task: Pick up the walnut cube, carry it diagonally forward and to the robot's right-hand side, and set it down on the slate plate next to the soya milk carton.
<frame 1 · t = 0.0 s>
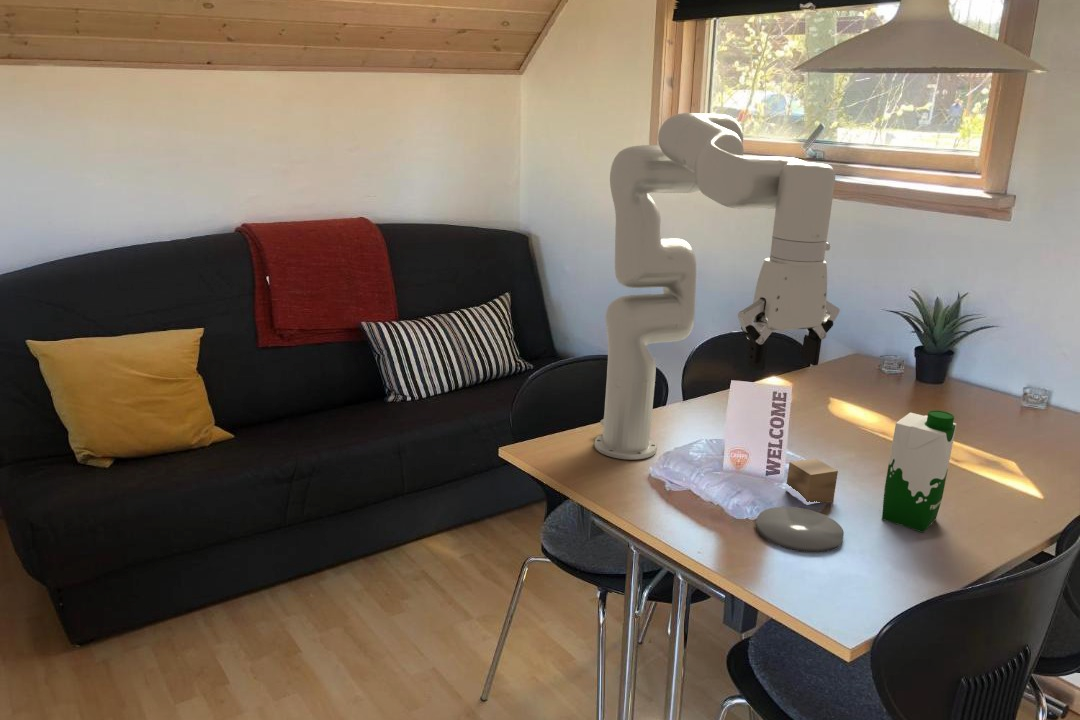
hand: (782, 365, 133), 31 cm above the table, tool pointing down, fingers open, 9 cm apart
slate plate: (798, 532, 149), on the table
soya milk: (908, 520, 156), on the table
walnut cube: (809, 496, 163), on the table
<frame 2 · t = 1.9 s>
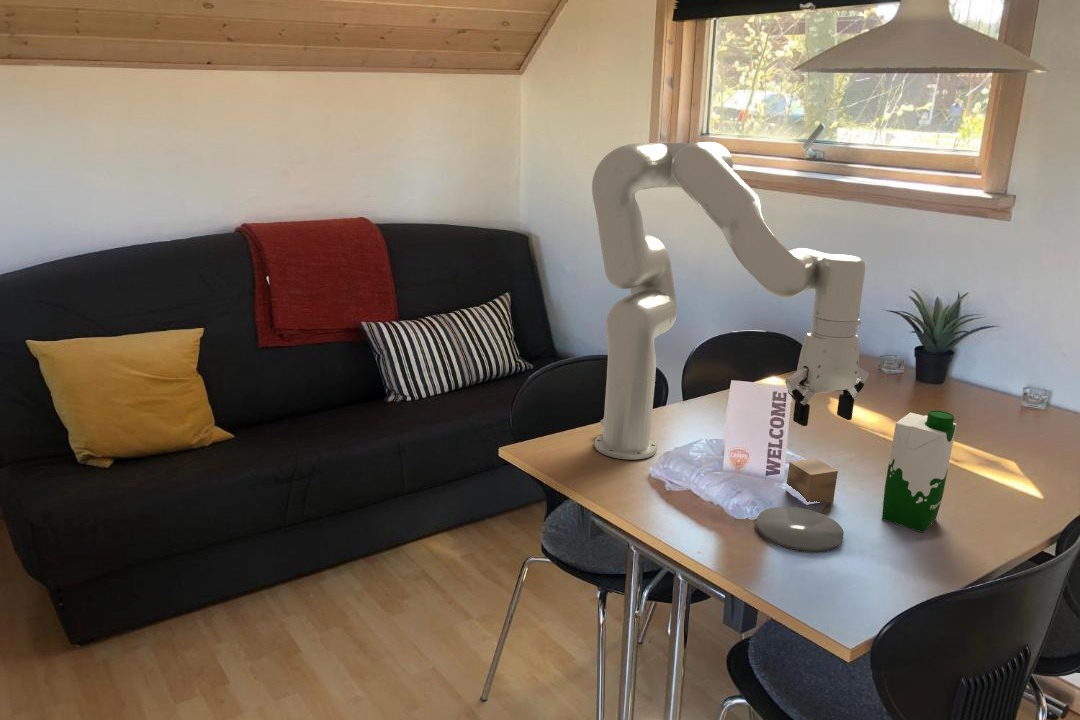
hand: (822, 420, 159), 15 cm above the table, tool pointing down, fingers open, 9 cm apart
nothing on the table moved.
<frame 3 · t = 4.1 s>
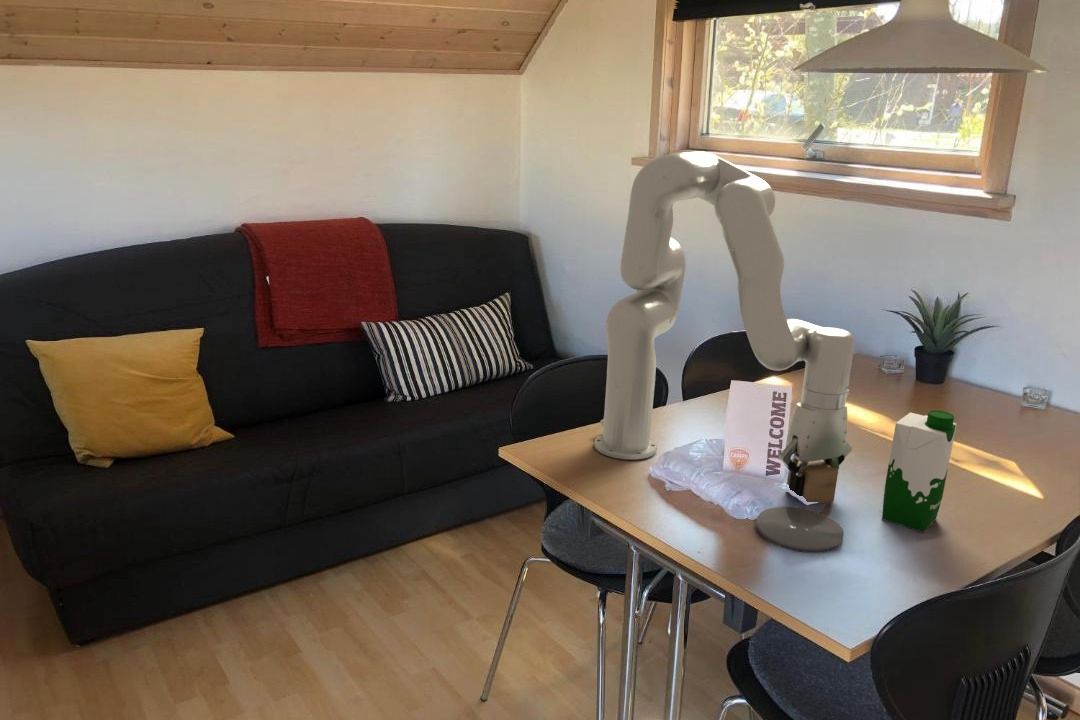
hand: (810, 490, 163), 1 cm above the table, tool pointing down, fingers closed on walnut cube, 6 cm apart
walnut cube: (809, 496, 163), on the table, touching gripper
everything else where it was.
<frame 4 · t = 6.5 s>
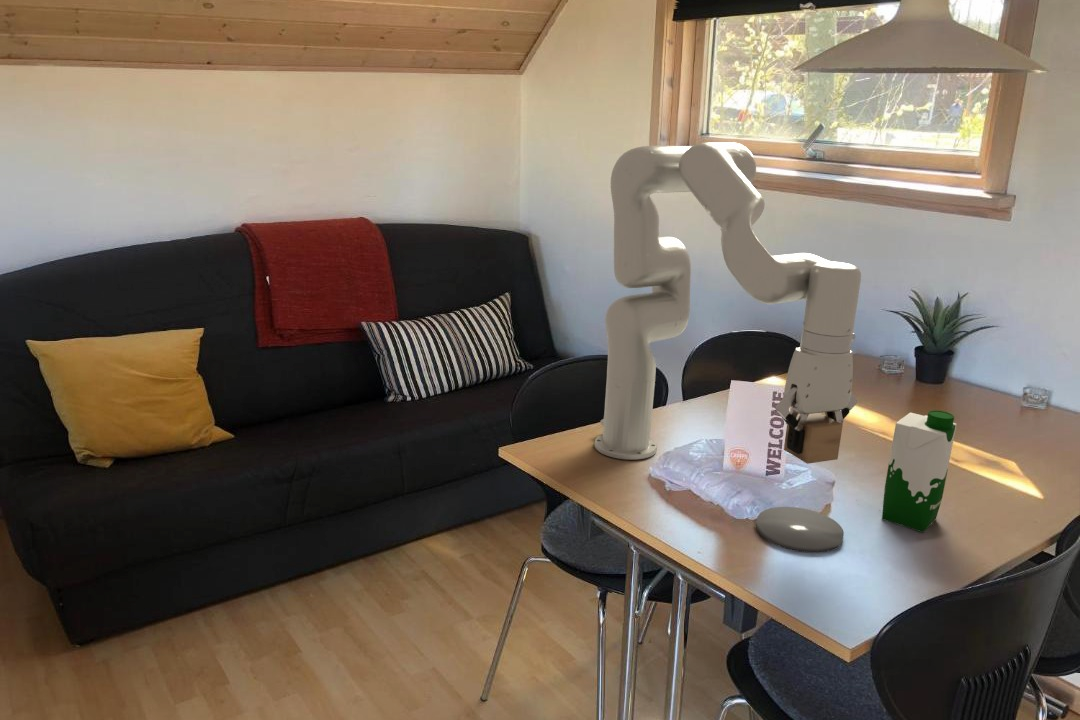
hand: (811, 447, 145), 15 cm above the table, tool pointing down, fingers closed on walnut cube, 6 cm apart
walnut cube: (810, 454, 145), point 14 cm above the table, touching gripper
everything else where it was.
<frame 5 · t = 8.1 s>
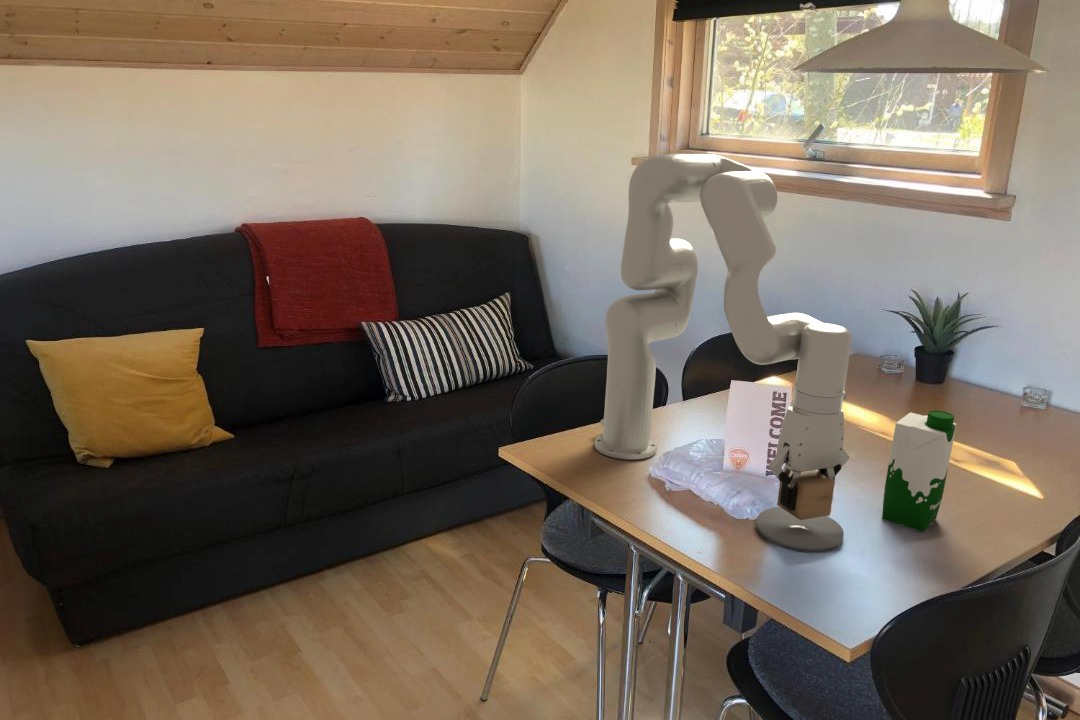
hand: (803, 503, 148), 5 cm above the table, tool pointing down, fingers closed on walnut cube, 6 cm apart
walnut cube: (803, 509, 148), point 4 cm above the table, touching gripper
everything else where it was.
when the fingers open (4 cm above the table, at t = 9.4 s): walnut cube drops 1 cm, resting on slate plate.
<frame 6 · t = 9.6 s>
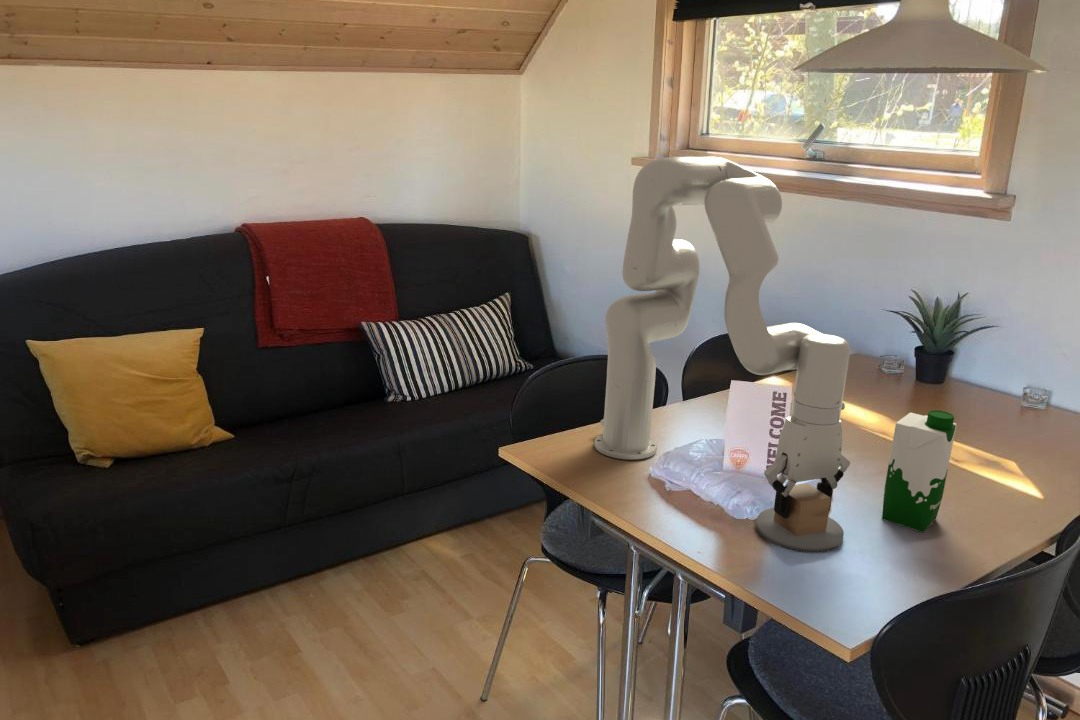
hand: (801, 510, 148), 4 cm above the table, tool pointing down, fingers open, 7 cm apart
walnut cube: (799, 525, 149), point 1 cm above the table, touching slate plate
everything else where it was.
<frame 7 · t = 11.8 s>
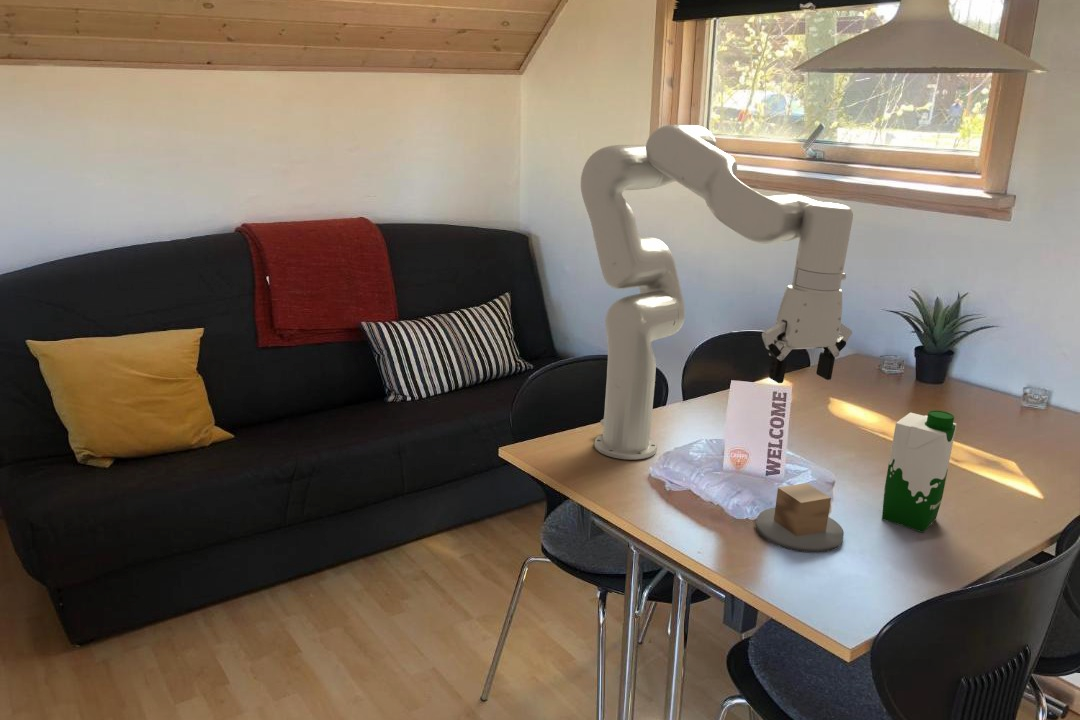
hand: (799, 378, 151), 24 cm above the table, tool pointing down, fingers open, 9 cm apart
nothing on the table moved.
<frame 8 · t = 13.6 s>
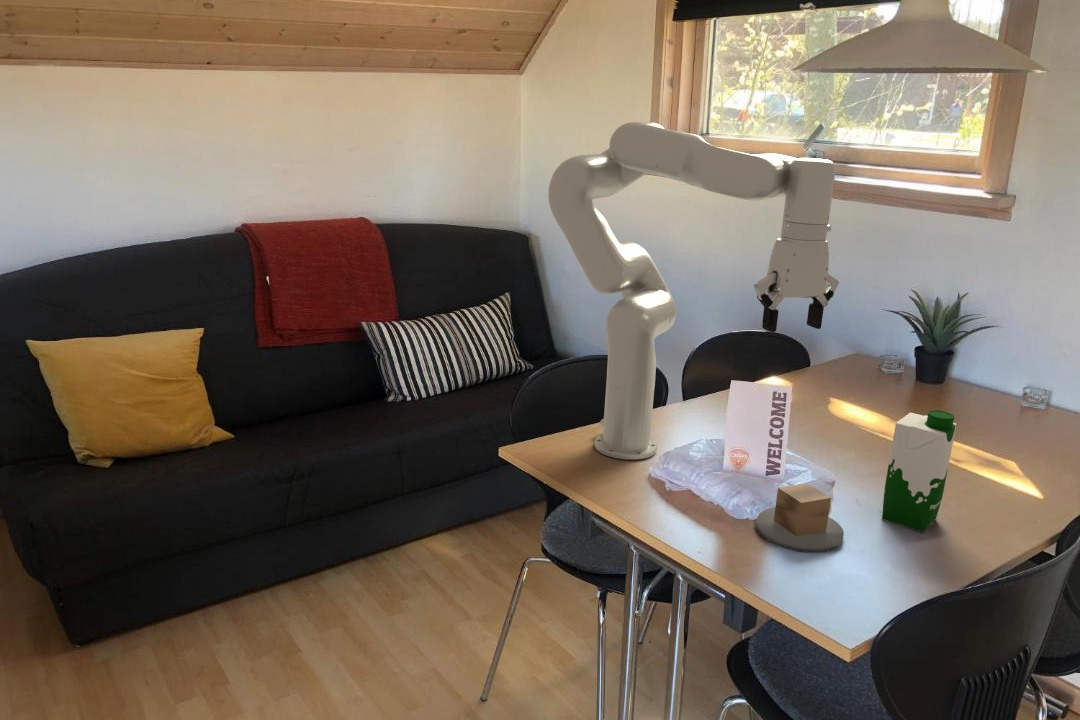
hand: (791, 328, 158), 30 cm above the table, tool pointing down, fingers open, 9 cm apart
nothing on the table moved.
at the end: walnut cube 0.0 cm from the slate plate (horizontally); walnut cube point 1.2 cm above the table; walnut cube tilted 0° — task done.
